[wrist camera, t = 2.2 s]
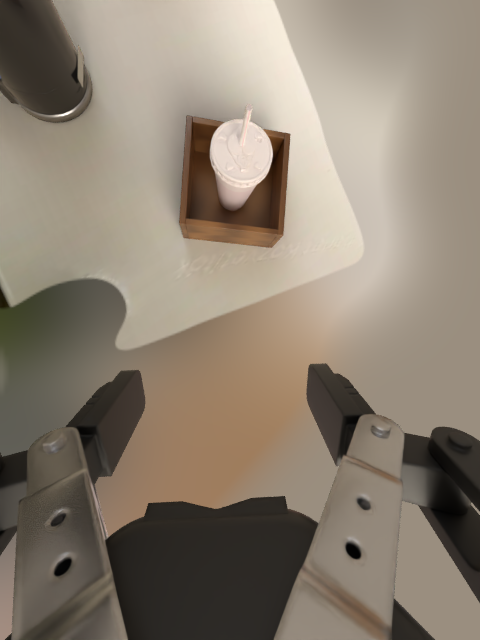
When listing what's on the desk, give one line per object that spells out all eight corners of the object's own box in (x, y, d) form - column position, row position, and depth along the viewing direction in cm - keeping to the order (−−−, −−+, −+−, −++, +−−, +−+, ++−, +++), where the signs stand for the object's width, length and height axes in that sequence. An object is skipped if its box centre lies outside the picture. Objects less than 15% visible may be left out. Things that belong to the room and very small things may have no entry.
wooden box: (183, 237, 33) (179, 223, 28) (189, 146, 33) (186, 114, 28) (271, 247, 35) (283, 235, 30) (277, 161, 35) (290, 133, 30)
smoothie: (252, 173, 34) (283, 74, 20) (257, 219, 34) (291, 153, 20) (206, 174, 33) (205, 73, 19) (211, 222, 33) (215, 155, 20)
